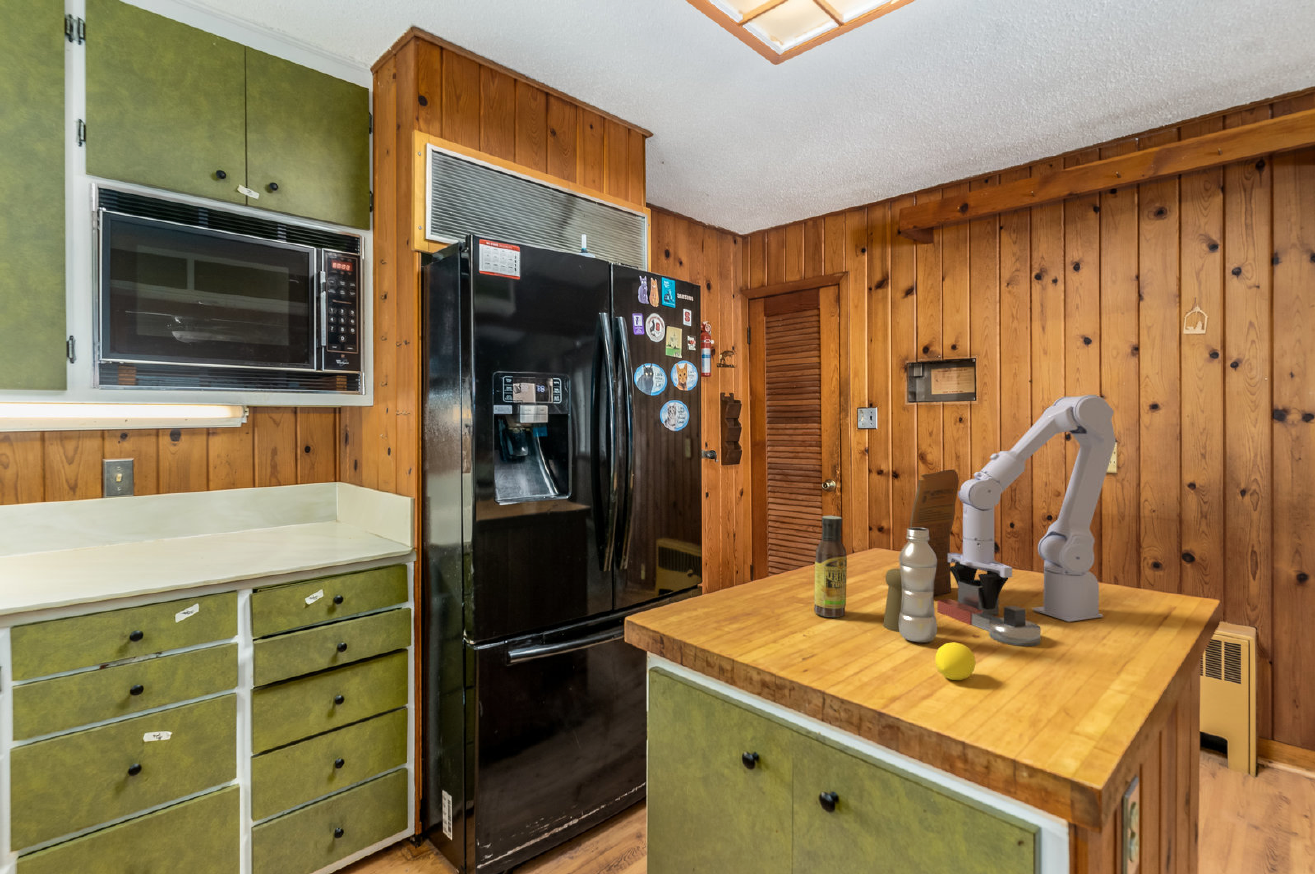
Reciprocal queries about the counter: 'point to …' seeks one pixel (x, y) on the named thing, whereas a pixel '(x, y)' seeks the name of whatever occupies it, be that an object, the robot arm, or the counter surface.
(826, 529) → the sauce bottle
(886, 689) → the counter surface
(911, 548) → the plastic bottle
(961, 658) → the lemon
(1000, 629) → the ratchet
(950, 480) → the pancake mix bag
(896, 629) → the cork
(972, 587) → the square hollow tube
